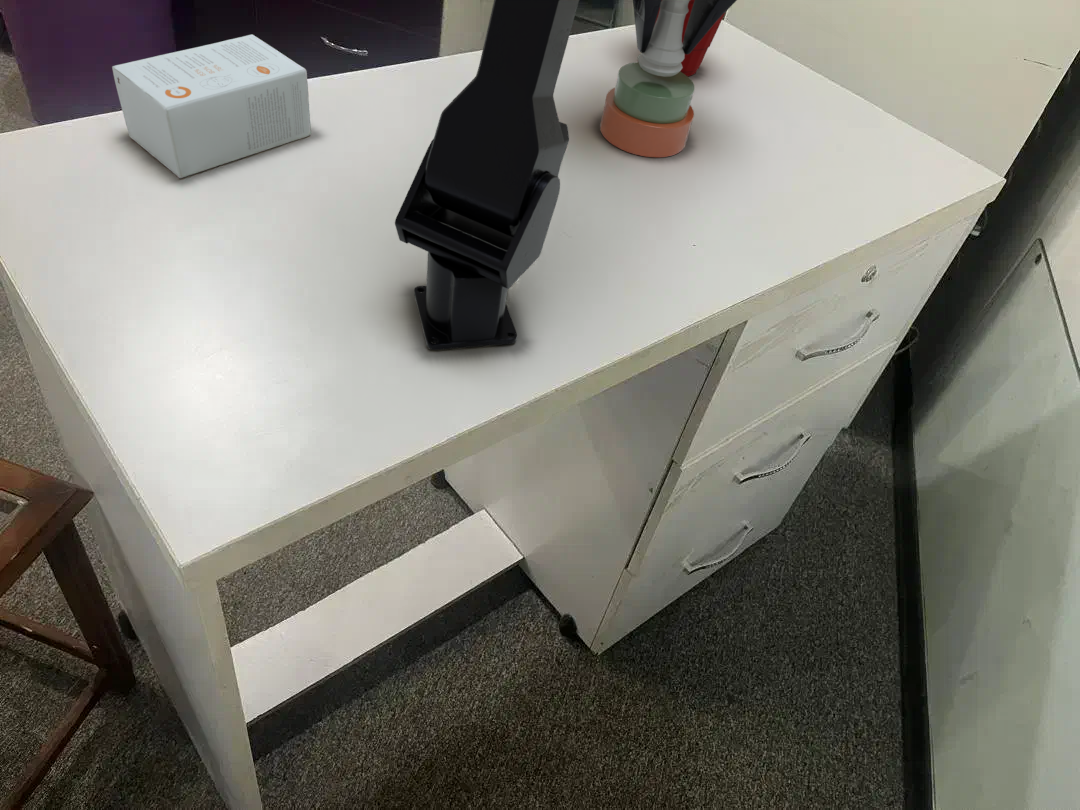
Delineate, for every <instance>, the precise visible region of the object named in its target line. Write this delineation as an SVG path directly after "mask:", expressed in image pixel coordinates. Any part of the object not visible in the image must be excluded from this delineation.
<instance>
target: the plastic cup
mask: <svg viewBox="0 0 1080 810" xmlns="http://www.w3.org/2000/svg"><path fill="white" fill-rule="evenodd" d="M694 1H695V0H690V1H689V3H688V9H689V12H688V13H687V14H686V16H685V20H684V25H683V32H682V43H683V39H684V34H685V30H686V27H687V24H688V20H689V17H690V14H691V11H692V7H693V4H694ZM661 2H662V1H661ZM659 11H660V8H659ZM659 11H658V15H659ZM725 14H726V12H725V13H724V14H723V15H722V16H721V17H720V18H719V19H718V20H717V21H716V23H715V24H714V25H713V26H712V27H711V28H710V30H709V31H708V32H707V33H706V34H705V36H704V37H703V38H702V39H701V41H700V42H699V43H698V44H697V45H696V47H695V48H694V49H693V50H692V51H691V53H690V54H685V53H684V54H685V59H684V60H683V61H682V62H681V64H682V67H683V68H682V69H681V71H680V72H682V73H683V74H685V75H686V76H688V77H692V76H693V75H696V74H697V71H698V69H700V67H701V64H702V63H703V60H704V58H705V55H706V53H707V51H708V49H709V48H710V47H711V45H712V42H713V40H714V38H715V36H716V34H717V32H718V29H719V27H720V25H721V23H722V21H723V19H724V17H725ZM658 15H657V18H658ZM657 18H656V21H657ZM655 23H656V22H655ZM654 26H655V25H654Z"/></svg>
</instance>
